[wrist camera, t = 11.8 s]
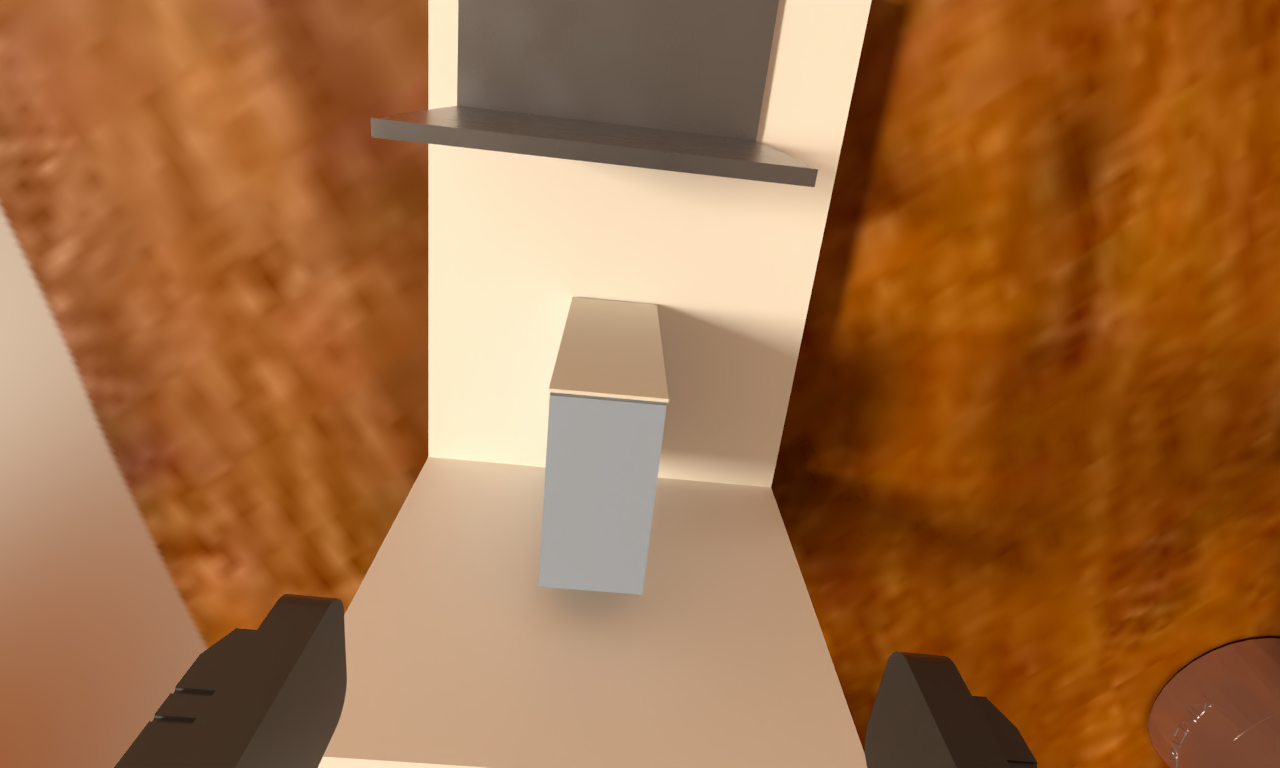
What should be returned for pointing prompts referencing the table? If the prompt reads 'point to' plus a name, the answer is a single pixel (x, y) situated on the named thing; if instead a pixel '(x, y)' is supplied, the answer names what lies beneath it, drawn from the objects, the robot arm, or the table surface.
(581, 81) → the bookend
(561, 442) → the small book
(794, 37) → the shelf
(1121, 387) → the table surface
